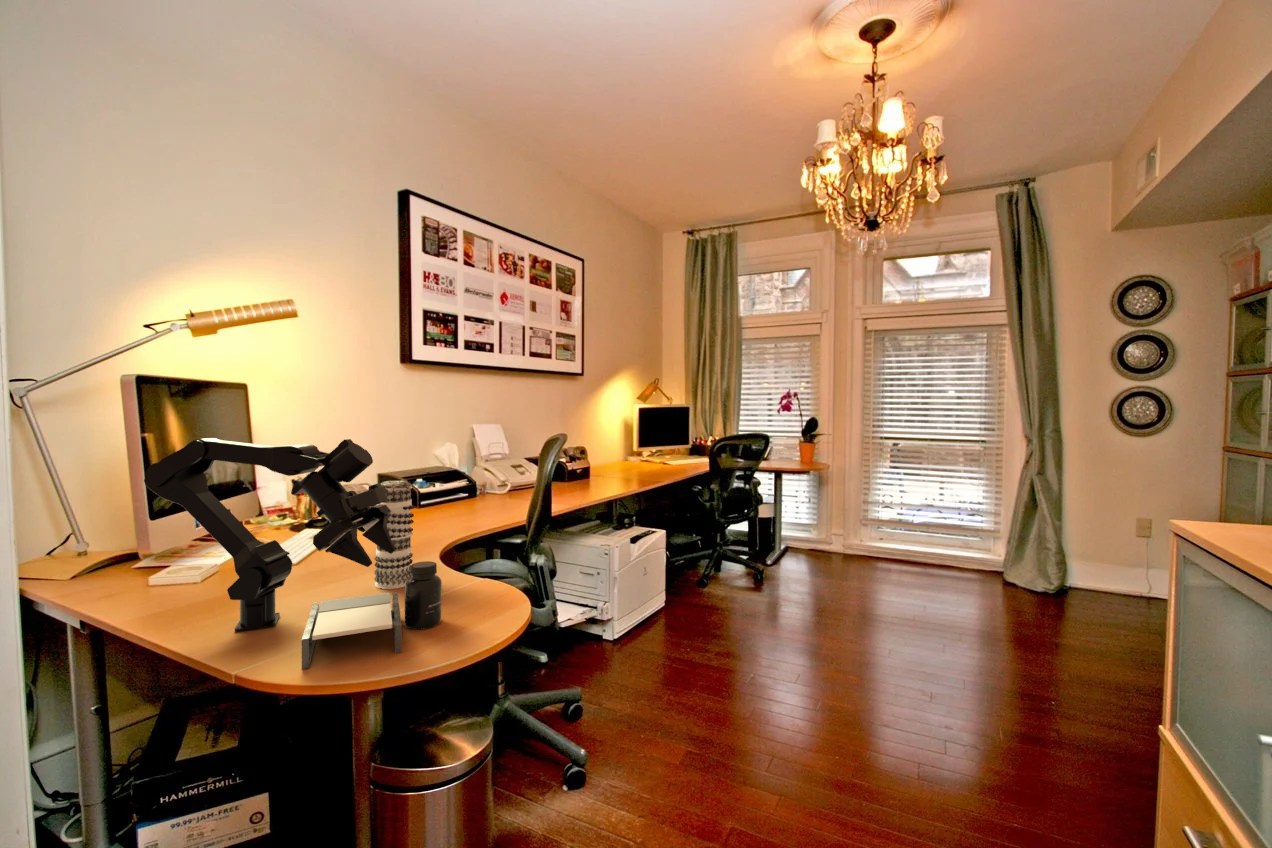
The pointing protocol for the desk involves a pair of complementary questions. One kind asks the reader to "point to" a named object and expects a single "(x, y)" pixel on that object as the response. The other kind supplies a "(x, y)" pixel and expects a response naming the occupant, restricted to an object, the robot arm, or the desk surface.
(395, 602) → the flap frame
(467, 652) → the desk surface
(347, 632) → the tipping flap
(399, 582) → the decorative candle
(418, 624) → the supplement bottle
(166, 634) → the desk surface
